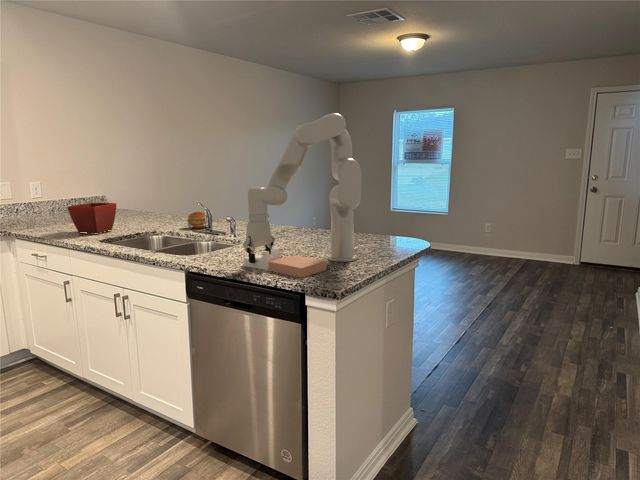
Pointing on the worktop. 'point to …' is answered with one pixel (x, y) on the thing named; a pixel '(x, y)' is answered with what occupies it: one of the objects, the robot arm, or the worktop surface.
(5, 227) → the worktop surface
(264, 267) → the bracket
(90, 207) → the plant pot
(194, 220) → the burger
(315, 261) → the riser block
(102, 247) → the worktop surface
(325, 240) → the worktop surface
